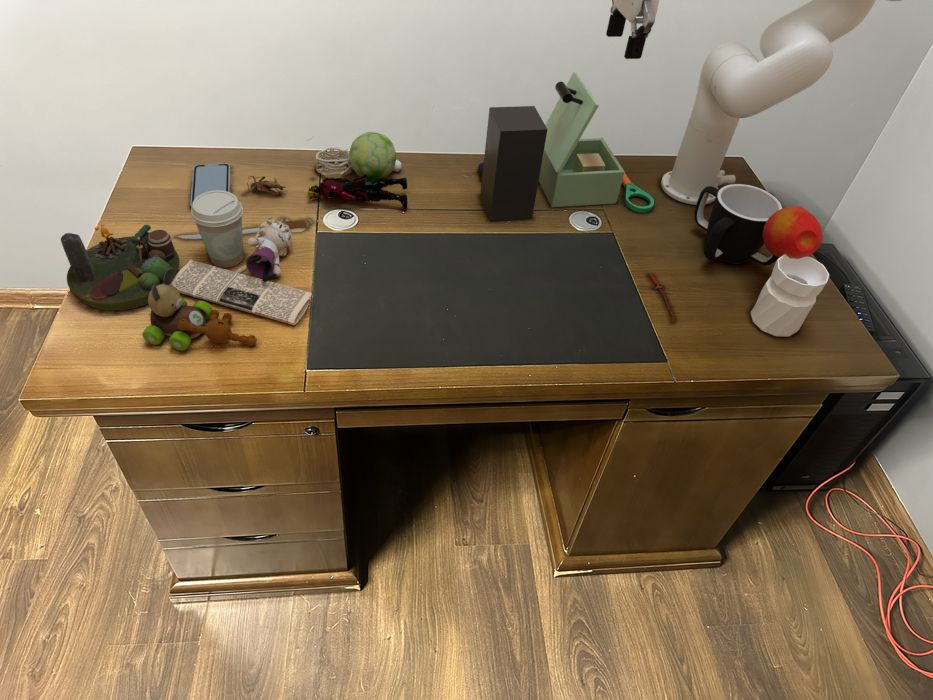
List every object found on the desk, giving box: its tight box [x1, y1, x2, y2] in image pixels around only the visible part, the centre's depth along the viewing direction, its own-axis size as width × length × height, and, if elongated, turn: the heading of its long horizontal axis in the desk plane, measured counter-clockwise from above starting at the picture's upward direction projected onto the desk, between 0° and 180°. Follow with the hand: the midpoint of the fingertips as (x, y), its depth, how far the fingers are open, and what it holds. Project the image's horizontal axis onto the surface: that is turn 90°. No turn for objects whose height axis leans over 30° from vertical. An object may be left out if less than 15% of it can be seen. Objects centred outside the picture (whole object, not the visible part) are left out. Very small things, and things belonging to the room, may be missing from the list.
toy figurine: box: [178, 309, 258, 347], centre depth 111 cm, size 12×4×7 cm
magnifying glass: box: [621, 172, 655, 214], centre depth 151 cm, size 15×6×2 cm, turn 14°
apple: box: [763, 205, 824, 259], centre depth 121 cm, size 9×9×12 cm
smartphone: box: [190, 162, 231, 208], centre depth 140 cm, size 7×1×15 cm
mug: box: [693, 183, 783, 266], centre depth 134 cm, size 16×16×12 cm
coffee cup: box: [190, 190, 245, 268], centre depth 122 cm, size 8×8×12 cm
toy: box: [234, 216, 293, 282], centre depth 124 cm, size 8×10×15 cm
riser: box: [479, 105, 548, 222], centre depth 137 cm, size 9×9×20 cm
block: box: [573, 153, 605, 172], centre depth 149 cm, size 5×5×6 cm
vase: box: [750, 254, 830, 338], centre depth 121 cm, size 9×9×12 cm
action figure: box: [303, 174, 409, 211], centre depth 140 cm, size 15×6×20 cm
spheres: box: [392, 159, 403, 173], centre depth 153 cm, size 15×2×2 cm
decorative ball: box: [348, 131, 397, 181], centre depth 144 cm, size 10×10×10 cm
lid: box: [544, 71, 600, 174], centre depth 138 cm, size 15×14×5 cm
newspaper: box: [170, 259, 313, 326], centre depth 119 cm, size 24×7×2 cm, turn 73°
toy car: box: [141, 268, 213, 352], centre depth 109 cm, size 9×9×11 cm
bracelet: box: [314, 146, 354, 177], centre depth 147 cm, size 4×8×8 cm
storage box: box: [538, 137, 626, 208], centre depth 148 cm, size 15×14×8 cm
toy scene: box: [60, 222, 180, 311], centre depth 116 cm, size 18×18×11 cm
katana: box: [649, 274, 675, 322], centre depth 127 cm, size 13×2×1 cm, turn 6°
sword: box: [176, 218, 313, 241], centre depth 132 cm, size 25×1×5 cm
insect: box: [244, 175, 287, 196], centre depth 140 cm, size 4×8×5 cm
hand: (622, 46), depth 130 cm, fingers open, 9 cm apart
